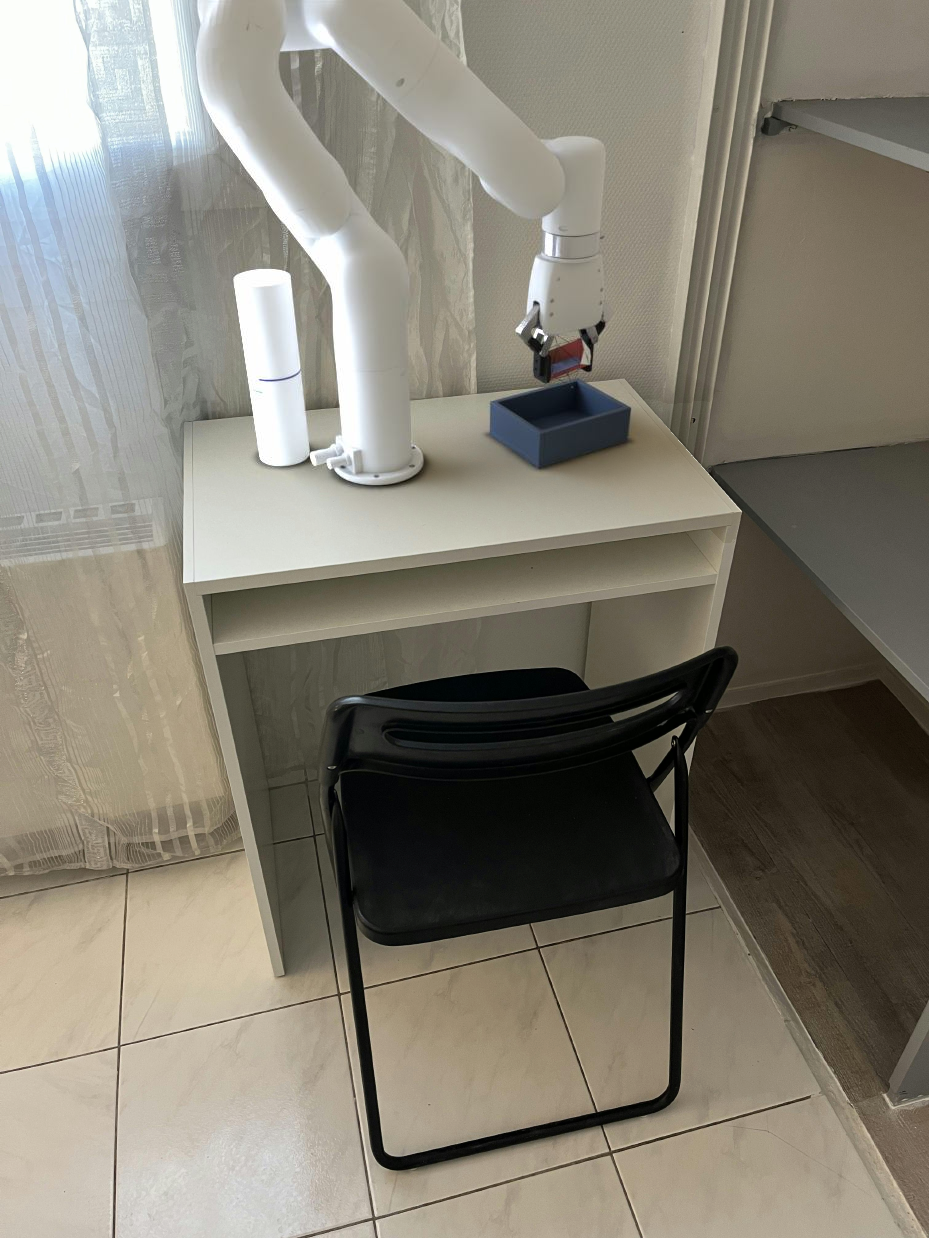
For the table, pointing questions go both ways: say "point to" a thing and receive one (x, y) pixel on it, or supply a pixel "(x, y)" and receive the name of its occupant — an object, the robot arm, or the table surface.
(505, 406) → the bin
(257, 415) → the cylindrical container
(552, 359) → the geometric puzzle
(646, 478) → the table surface
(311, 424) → the table surface
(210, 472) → the table surface
